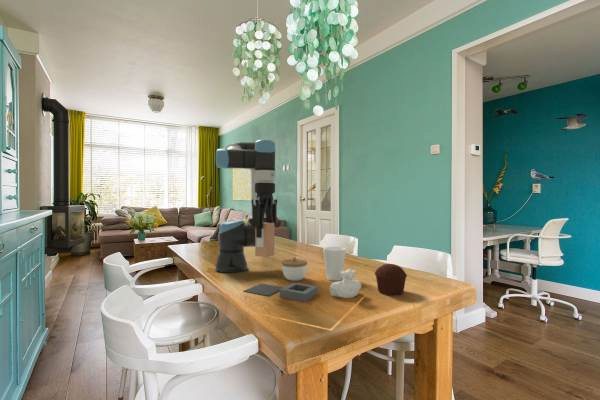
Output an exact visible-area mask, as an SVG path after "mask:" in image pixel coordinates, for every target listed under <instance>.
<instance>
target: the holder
mask: <svg viewBox="0 0 600 400" xmlns="http://www.w3.org/2000/svg"><path fill="white" fill-rule="evenodd" d="M283 287H284V288H282V289H280V291H279V297H280V298H283V299H289V300H295V301H298V302H299V301H300V302H305V303H307V301H309V300H310V299H312V298H313V297H315V296H317V294H319V286H318V285H312V284H307V283H300V282H292V283H289V284H287V285H286V286H283Z"/></svg>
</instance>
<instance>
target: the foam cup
mask: <svg viewBox="0 0 600 400" xmlns="http://www.w3.org/2000/svg"><path fill="white" fill-rule="evenodd" d="M322 254H323V258H324V265H325V274H326V280H328V281H333V282H338V281H342V280H343V275H341V273H340V271H344V266H345V265H344V263H345V258H346V257H345V256H346V248H345V247H343V246H342V247H341V246H325V247H323V253H322Z"/></svg>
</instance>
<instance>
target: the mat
mask: <svg viewBox="0 0 600 400" xmlns="http://www.w3.org/2000/svg"><path fill="white" fill-rule="evenodd" d="M284 287H285V286H280V285H279V286H278V285H273V284H267V283H258V284H256V285H254V286H252V287H249V288H247V289H245V290H243V292H244V293H249V294H253V295H258V296H264V297H268V298H269V297H271V296H273V295H274V294H275V295H276V293H278V292H279V293H280V289H282V288H284Z"/></svg>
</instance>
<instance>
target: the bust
mask: <svg viewBox="0 0 600 400" xmlns="http://www.w3.org/2000/svg"><path fill="white" fill-rule="evenodd" d="M356 271H357V270H356V269H353V270H352V269H351V268H346V269H345V270H343V271H340V273H341V275H342V279H341V280H338V281H333V282H332V283H331V284H330V286H329V292H330V296H332V297H338V298H342V299H354V298H355V297H357V295H358V294H359V292H360V289H362V282H361V281H360V280H357V279H355V277H356V273H357V272H356Z"/></svg>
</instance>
